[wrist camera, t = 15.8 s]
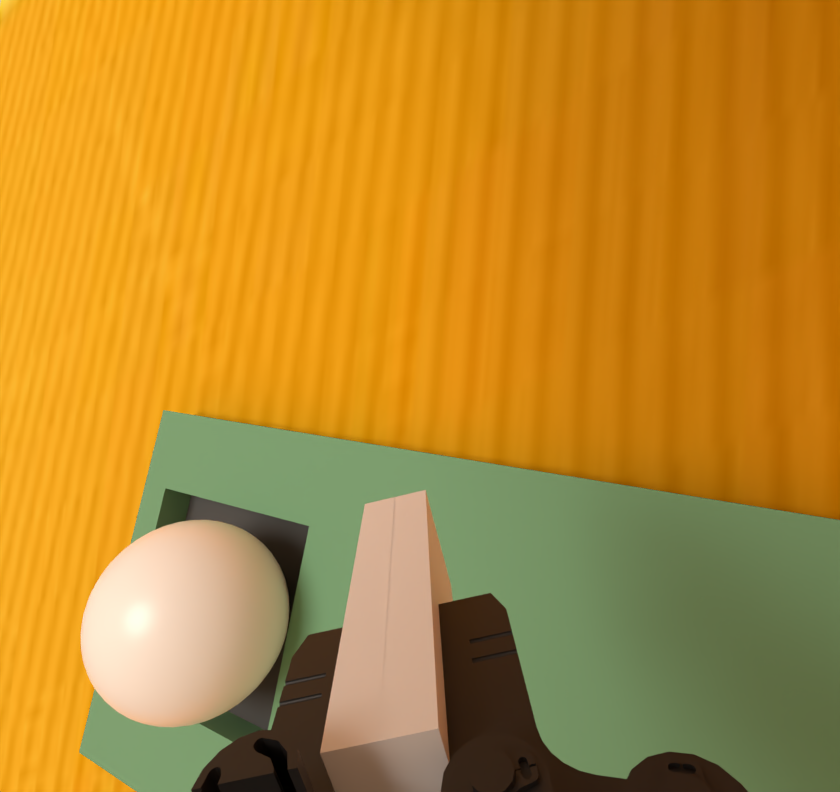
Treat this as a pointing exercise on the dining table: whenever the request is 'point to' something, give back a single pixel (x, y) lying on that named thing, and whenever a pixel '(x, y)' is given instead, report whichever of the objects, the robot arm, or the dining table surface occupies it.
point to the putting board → (532, 601)
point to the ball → (185, 623)
